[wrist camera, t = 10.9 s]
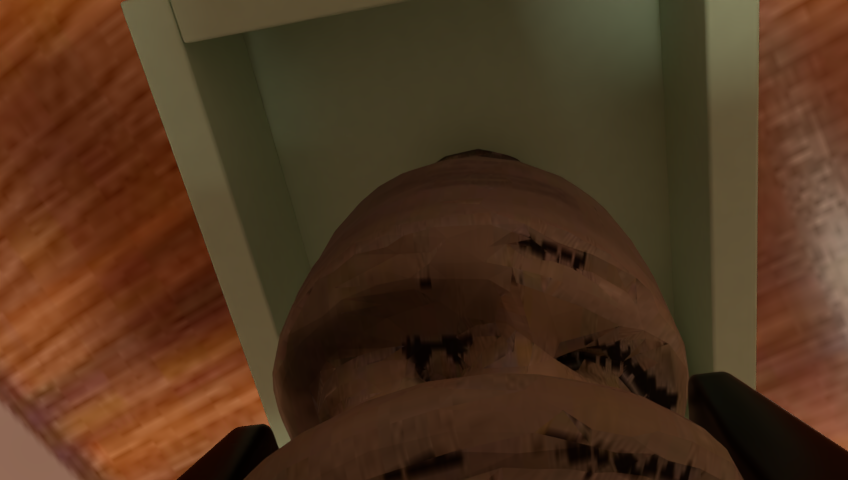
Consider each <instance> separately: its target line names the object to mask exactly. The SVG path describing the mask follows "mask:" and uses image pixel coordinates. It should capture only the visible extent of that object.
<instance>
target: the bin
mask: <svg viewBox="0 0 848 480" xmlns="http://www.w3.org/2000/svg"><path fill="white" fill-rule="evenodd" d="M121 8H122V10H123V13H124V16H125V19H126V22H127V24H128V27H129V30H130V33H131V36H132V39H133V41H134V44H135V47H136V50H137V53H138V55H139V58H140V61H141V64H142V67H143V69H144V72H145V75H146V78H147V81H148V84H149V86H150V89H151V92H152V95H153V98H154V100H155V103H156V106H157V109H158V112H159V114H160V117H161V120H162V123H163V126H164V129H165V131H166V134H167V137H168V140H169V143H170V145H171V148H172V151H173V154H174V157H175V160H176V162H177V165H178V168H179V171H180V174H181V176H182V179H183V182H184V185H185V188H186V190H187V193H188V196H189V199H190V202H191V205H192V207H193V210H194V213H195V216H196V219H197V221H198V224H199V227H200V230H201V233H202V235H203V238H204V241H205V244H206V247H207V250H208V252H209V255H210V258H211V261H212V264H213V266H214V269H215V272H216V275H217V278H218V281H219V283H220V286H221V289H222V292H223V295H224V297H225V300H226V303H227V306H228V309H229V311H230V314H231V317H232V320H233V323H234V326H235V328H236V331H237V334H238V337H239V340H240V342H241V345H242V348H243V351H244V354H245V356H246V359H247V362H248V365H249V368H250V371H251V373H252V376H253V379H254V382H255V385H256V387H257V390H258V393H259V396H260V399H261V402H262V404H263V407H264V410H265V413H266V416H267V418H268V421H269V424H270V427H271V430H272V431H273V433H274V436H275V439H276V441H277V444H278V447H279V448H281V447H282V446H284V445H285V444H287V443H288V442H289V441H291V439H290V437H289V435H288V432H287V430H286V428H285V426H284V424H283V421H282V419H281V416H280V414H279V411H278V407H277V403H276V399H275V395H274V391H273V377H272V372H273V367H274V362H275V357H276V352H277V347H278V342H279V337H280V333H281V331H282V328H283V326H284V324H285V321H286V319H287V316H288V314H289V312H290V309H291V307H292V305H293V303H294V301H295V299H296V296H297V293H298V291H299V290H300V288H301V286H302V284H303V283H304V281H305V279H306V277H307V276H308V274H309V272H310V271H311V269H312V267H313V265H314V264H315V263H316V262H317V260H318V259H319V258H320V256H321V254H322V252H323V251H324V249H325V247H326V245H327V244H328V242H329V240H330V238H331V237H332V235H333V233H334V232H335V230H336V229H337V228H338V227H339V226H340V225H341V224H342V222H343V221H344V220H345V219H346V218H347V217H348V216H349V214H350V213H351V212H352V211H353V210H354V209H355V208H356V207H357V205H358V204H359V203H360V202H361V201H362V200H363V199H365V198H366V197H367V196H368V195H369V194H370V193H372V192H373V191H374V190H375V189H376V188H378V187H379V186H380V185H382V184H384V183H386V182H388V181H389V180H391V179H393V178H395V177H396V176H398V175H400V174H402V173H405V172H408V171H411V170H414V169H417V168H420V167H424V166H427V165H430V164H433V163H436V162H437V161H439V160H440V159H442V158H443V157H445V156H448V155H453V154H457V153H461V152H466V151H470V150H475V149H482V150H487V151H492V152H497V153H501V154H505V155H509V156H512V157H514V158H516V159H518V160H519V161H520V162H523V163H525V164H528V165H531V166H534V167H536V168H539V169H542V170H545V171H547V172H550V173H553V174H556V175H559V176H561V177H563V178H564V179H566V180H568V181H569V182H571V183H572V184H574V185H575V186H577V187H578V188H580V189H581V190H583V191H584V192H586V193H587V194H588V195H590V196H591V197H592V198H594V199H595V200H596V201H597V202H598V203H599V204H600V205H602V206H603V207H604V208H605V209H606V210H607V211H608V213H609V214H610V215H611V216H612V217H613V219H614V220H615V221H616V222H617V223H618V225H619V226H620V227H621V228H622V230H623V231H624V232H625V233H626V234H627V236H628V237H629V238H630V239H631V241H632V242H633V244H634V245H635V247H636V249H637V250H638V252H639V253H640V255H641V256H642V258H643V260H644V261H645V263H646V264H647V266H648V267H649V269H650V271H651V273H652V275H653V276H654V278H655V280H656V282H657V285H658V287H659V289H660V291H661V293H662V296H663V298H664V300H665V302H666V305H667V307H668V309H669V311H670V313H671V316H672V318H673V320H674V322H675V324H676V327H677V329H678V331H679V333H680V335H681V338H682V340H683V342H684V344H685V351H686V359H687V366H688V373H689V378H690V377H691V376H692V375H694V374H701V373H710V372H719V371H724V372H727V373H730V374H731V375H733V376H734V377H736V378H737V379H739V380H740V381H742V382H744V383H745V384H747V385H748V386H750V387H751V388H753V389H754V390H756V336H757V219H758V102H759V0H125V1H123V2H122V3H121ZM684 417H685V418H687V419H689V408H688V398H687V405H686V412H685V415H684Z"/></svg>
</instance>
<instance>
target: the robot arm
mask: <svg viewBox="0 0 848 480" xmlns="http://www.w3.org/2000/svg"><path fill="white" fill-rule="evenodd" d="M688 408H689V420H690V421H692V422H694V423H695V424H697V425H699V426H701V427H702V428H704V429H705V430H706V431H707V432H708V433H710V434H711V435H712V436H713V437H714V438H715V439H716V440H717V441H718V442H719V443H721V444H722V445H723V446H724V447H725V448H726V449H727V451H728V452H729V454H730V456H731V458H732V460H733V461H734V463H735V465H736V467H737V469H738V470H739V472H740V474H741V476H742V478H743V479H744V480H848V451H847V450H845V449H844V448H842V447H841V446H839V445H838V444H836V443H835V442H833V441H831V440H830V439H828V438H827V437H825V436H824V435H822V434H821V433H819V432H818V431H816V430H815V429H813V428H812V427H810V426H809V425H807V424H806V423H804V422H803V421H801V420H800V419H798V418H797V417H795V416H794V415H792V414H791V413H789V412H788V411H786V410H784V409H783V408H781V407H780V406H778V405H777V404H775V403H774V402H772V401H771V400H769V399H768V398H766V397H765V396H763V395H762V394H760V393H759V392H757V391H756V390H754V389H753V388H751V387H750V386H748V385H747V384H745V383H744V382H742V381H740V380H739V379H737V378H736V377H734V376H733V375H731V374H730V373H727V372H724V371H719V372H710V373H701V374H694V375H692V376H691V377H690V378H689V380H688ZM278 449H279V447H278V444H277V441H276V439H275V436H274V433H273V431H272V430H271V428H270V427H269V426H267V425H265V424H259V425H250V426H241V427H237V428H235V429H234V430H232V431H231V432H230V433H229V434H228V435H226V436H225V437H224V438H223V439H222V440H221V441H220V442H219V443H217V444H216V445H215V446H214V447H213V448H212V449H211V450H210V451H208V452H207V453H206V454H205V455H204V456H203V457H202V458H201V459H199V460H198V461H197V462H196V463H195V464H194V465H193V466H192V467H190V468H189V469H188V470H187V471H186V472H185V473H184V474H182V475H181V476H180V477H179V478H178V479H177V480H243V479H244V478H245V477H246V476H247V475H248V474H249V473H250V472H251V471H252V470H253V469H255V468H256V467H257V466H258V465H259V464H260V463H261V462H262V461H263V460H264V459H265V458H266V457H268V456H269V455H271V454H272V453H274V452H275V451H277V450H278Z"/></svg>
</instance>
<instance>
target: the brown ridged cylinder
mask: <svg viewBox="0 0 848 480" xmlns="http://www.w3.org/2000/svg"><path fill="white" fill-rule="evenodd" d="M272 377H273V391H274V395H275V399H276V403H277V407H278V411H279V414H280V416H281V419H282V421H283V424H284V426H285V428H286V430H287V432H288V435H289V437H290V439H291V441H289V442H288V443H287V444H285V445H284V446H282V447H281V448H279V449H278V450H277V451H275V452H274V453H272V454H271V455H269V456H268V457H266V458H265V459H264V460H263V461H262V462H261V463H260V464H259V465H258V466H257V467H256V468H255V469H253V470H252V471H251V472H250V473H249V474H248V475H247V476H246V477H245V478H244V479H243V480H744V479H743V478H742V476H741V474H740V472H739V470H738V469H737V467H736V465H735V463H734V461H733V460H732V458H731V456H730V454H729V452H728V451H727V449H726V448H725V447H724V446H723V445H722V444H721V443H719V442H718V441H717V440H716V439H715V438H714V437H713V436H712V435H711V434H710V433H708V432H707V431H706V430H705V429H704V428H702V427H701V426H699V425H697V424H695V423H694V422H692V421H690V420H689V419H687V418H685V417H684V415H685V412H686V405H687V398H688V380H689V373H688V366H687V359H686V351H685V344H684V342H683V340H682V338H681V335H680V333H679V331H678V329H677V327H676V324H675V322H674V320H673V318H672V316H671V313H670V311H669V309H668V307H667V305H666V302H665V300H664V298H663V296H662V293H661V291H660V289H659V287H658V285H657V282H656V280H655V278H654V276H653V275H652V273H651V271H650V269H649V267H648V266H647V264H646V263H645V261H644V260H643V258H642V256H641V255H640V253H639V252H638V250H637V249H636V247H635V245H634V244H633V242H632V241H631V239H630V238H629V237H628V236H627V234H626V233H625V232H624V231H623V230H622V228H621V227H620V226H619V225H618V223H617V222H616V221H615V220H614V219H613V217H612V216H611V215H610V214H609V213H608V211H607V210H606V209H605V208H604V207H603V206H602V205H600V204H599V203H598V202H597V201H596V200H595V199H594V198H592V197H591V196H590V195H588V194H587V193H586V192H584V191H583V190H581V189H580V188H578V187H577V186H575V185H574V184H572V183H571V182H569V181H568V180H566V179H564V178H563V177H561V176H559V175H556V174H553V173H550V172H547V171H545V170H542V169H539V168H536V167H534V166H531V165H528V164H525V163H523V162H520V161H519V160H518V159H516V158H514V157H512V156H509V155H505V154H501V153H497V152H492V151H487V150H482V149H475V150H470V151H466V152H461V153H457V154H453V155H448V156H445V157H443V158H442V159H440V160H439V161H437V162H436V163H433V164H430V165H427V166H424V167H420V168H417V169H414V170H411V171H408V172H405V173H402V174H400V175H398V176H396V177H395V178H393V179H391V180H389V181H388V182H386V183H384V184H382V185H380V186H379V187H378V188H376V189H375V190H374V191H373V192H372V193H370V194H369V195H368V196H367V197H366V198H365V199H363V200H362V201H361V202H360V203H359V204H358V205H357V207H356V208H355V209H354V210H353V211H352V212H351V213H350V214H349V216H348V217H347V218H346V219H345V220H344V221H343V222H342V224H341V225H340V226H339V227H338V228H337V229H336V230H335V232H334V233H333V235H332V237H331V238H330V240H329V242H328V244H327V245H326V247H325V249H324V251H323V252H322V254H321V256H320V258H319V259H318V260H317V262H316V263H315V264H314V265H313V267H312V269H311V271H310V272H309V274H308V276H307V277H306V279H305V281H304V283H303V284H302V286H301V288H300V290H299V291H298V293H297V296H296V299H295V301H294V303H293V305H292V307H291V309H290V312H289V314H288V316H287V319H286V321H285V324H284V326H283V328H282V331H281V333H280V337H279V342H278V347H277V352H276V357H275V362H274V367H273V372H272Z"/></svg>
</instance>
